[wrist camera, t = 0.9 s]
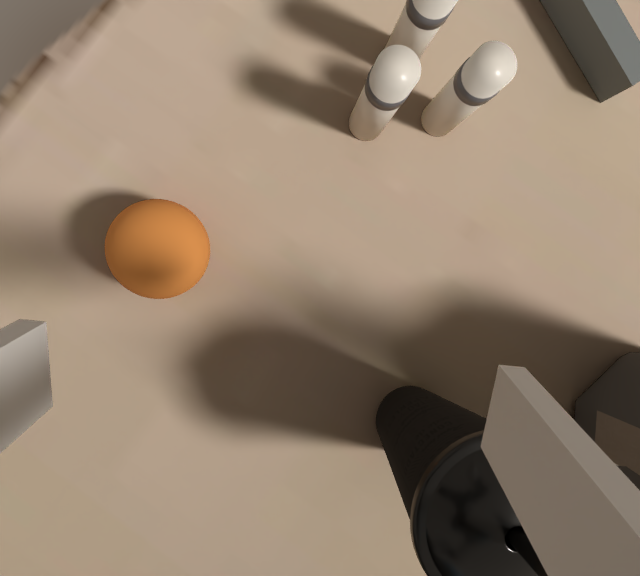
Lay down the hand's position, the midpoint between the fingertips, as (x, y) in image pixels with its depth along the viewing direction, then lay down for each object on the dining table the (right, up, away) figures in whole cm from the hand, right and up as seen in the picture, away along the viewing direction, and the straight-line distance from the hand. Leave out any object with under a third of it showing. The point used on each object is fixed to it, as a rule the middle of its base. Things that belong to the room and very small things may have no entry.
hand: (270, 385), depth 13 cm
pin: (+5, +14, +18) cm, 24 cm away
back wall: (+18, +23, +19) cm, 35 cm away
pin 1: (+7, +19, +18) cm, 27 cm away
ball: (-8, +5, +14) cm, 17 cm away
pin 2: (+10, +15, +19) cm, 26 cm away
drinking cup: (+8, -7, +19) cm, 22 cm away
